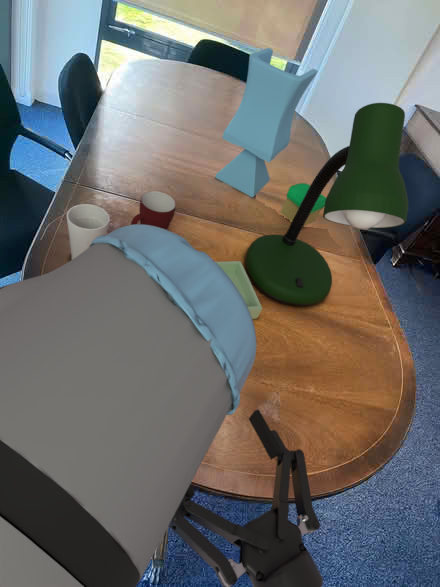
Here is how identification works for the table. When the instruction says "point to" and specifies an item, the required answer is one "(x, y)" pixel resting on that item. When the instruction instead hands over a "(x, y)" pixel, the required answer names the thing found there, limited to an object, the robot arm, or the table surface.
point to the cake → (295, 200)
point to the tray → (242, 285)
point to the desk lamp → (337, 208)
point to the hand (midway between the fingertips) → (214, 430)
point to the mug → (155, 210)
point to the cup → (85, 226)
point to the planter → (262, 122)
